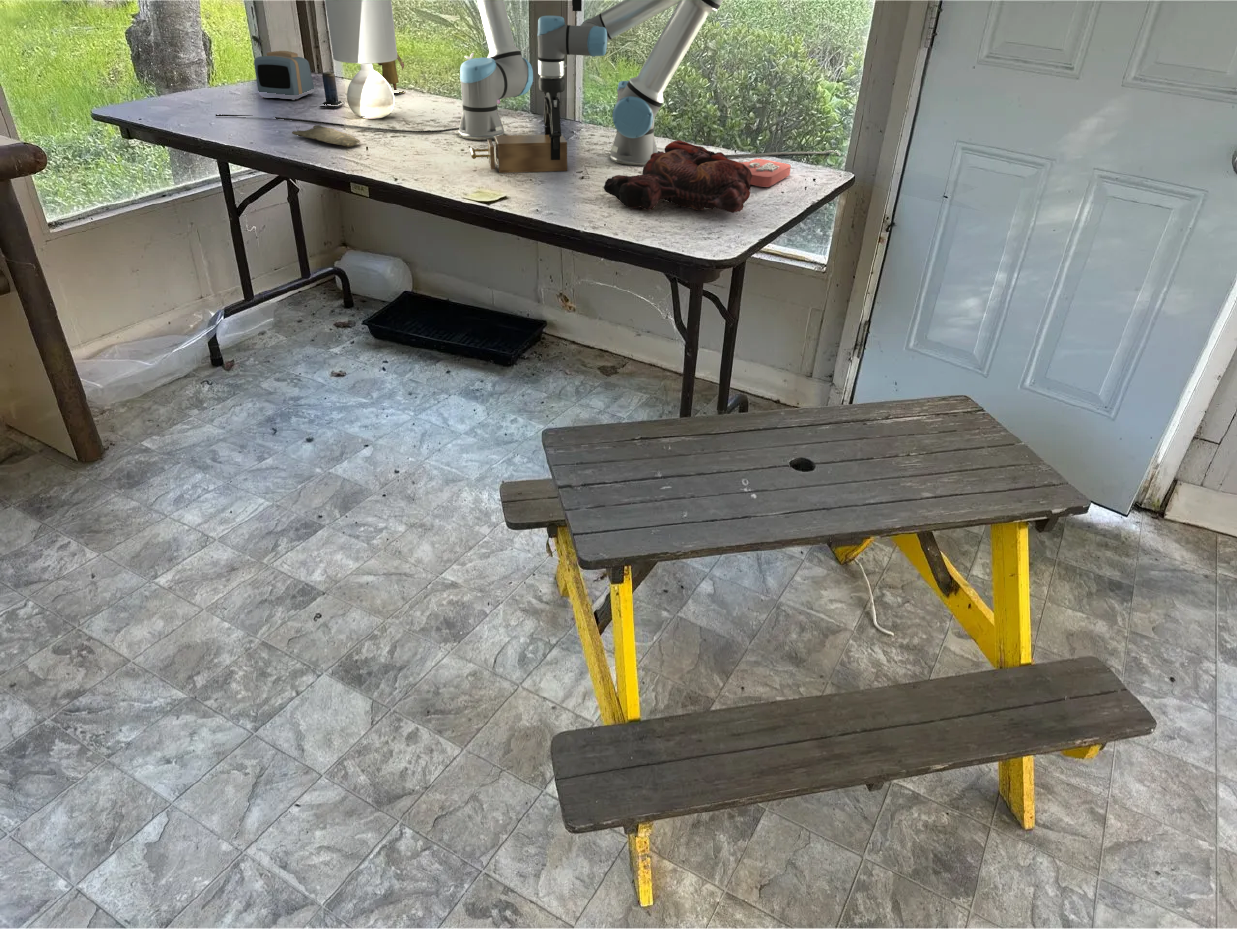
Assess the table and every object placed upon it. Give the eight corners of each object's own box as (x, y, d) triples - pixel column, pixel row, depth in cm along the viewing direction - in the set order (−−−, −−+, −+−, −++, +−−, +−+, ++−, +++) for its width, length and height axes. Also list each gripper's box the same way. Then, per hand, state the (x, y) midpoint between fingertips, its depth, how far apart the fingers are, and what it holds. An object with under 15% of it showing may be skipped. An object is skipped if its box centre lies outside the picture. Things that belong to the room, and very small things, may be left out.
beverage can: (339, 109, 314) (334, 74, 307) (318, 108, 314) (312, 73, 307) (346, 104, 321) (341, 69, 314) (325, 103, 321) (320, 69, 314)
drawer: (472, 169, 250) (470, 147, 247) (470, 162, 257) (468, 139, 254) (555, 167, 255) (555, 145, 251) (551, 159, 262) (551, 137, 258)
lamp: (416, 115, 310) (403, -11, 287) (372, 125, 294) (355, -7, 272) (373, 106, 319) (358, -16, 296) (328, 116, 304) (309, -13, 281)
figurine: (412, 92, 342) (404, 9, 325) (400, 97, 335) (391, 11, 318) (388, 90, 345) (378, 7, 328) (375, 94, 338) (365, 9, 321)
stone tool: (290, 136, 278) (341, 150, 267) (288, 127, 277) (340, 140, 265) (317, 131, 286) (368, 143, 274) (316, 122, 284) (367, 134, 273)
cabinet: (499, 172, 252) (497, 143, 247) (496, 163, 260) (494, 135, 255) (567, 170, 256) (567, 142, 251) (562, 162, 264) (561, 134, 259)
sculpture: (769, 218, 227) (775, 169, 218) (687, 248, 212) (691, 197, 203) (663, 172, 252) (665, 126, 244) (583, 196, 237) (582, 148, 229)
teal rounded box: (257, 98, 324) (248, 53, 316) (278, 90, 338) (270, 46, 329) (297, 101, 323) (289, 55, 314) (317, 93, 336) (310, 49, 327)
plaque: (748, 154, 263) (793, 162, 256) (746, 167, 265) (791, 175, 258) (722, 166, 250) (769, 175, 244) (721, 179, 252) (767, 189, 246)
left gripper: (591, -73, 235) (590, 13, 247) (589, -76, 256) (587, 3, 268) (564, -74, 235) (564, 12, 247) (564, -77, 255) (564, 2, 267)
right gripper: (571, 84, 236) (571, 164, 248) (558, 68, 255) (558, 144, 267) (544, 84, 234) (545, 165, 247) (533, 69, 254) (534, 144, 266)
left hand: (576, 8), depth 257 cm, fingers open, 13 cm apart
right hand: (552, 154), depth 257 cm, fingers open, 11 cm apart
